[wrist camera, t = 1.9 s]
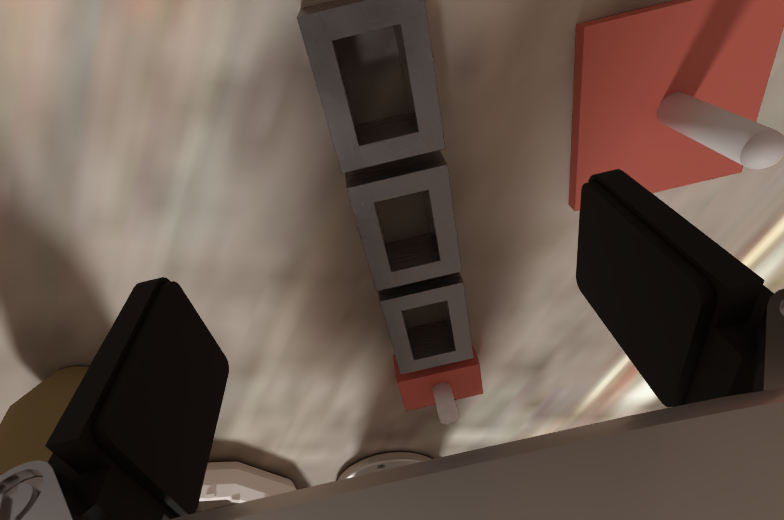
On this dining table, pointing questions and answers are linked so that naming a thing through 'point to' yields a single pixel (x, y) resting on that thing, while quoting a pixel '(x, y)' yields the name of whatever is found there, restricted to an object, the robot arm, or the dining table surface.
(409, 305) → the link
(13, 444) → the squeeze bottle
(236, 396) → the dining table surface
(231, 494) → the pretzel
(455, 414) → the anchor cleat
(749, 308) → the robot arm
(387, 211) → the dining table surface
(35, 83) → the dining table surface
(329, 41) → the end link
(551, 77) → the dining table surface
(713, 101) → the keeper
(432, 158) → the link
